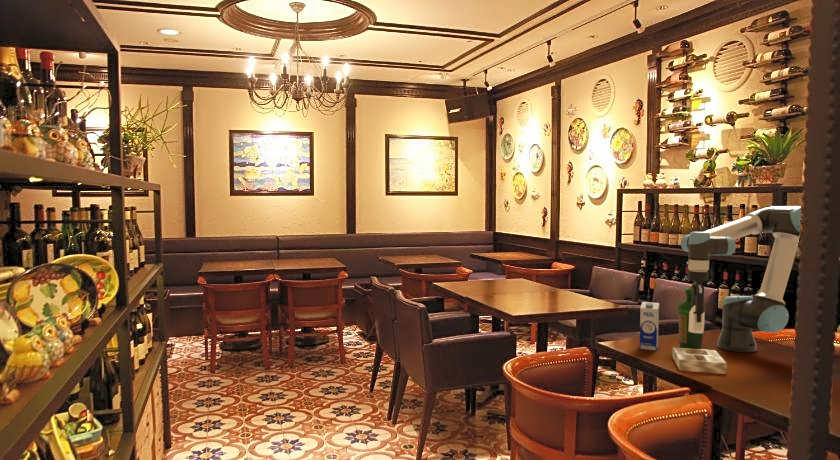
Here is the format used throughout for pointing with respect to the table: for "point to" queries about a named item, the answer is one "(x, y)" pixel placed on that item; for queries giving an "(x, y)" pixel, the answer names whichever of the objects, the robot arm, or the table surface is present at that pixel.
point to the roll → (691, 321)
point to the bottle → (687, 324)
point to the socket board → (699, 360)
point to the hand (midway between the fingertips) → (696, 328)
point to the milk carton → (649, 326)
